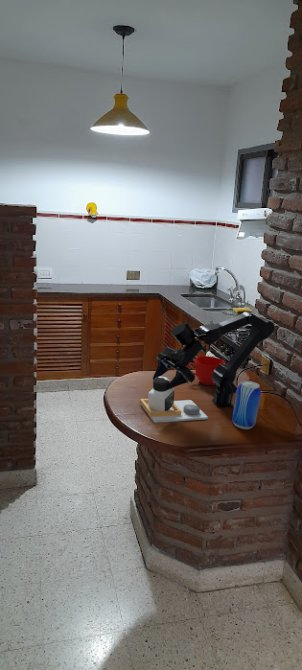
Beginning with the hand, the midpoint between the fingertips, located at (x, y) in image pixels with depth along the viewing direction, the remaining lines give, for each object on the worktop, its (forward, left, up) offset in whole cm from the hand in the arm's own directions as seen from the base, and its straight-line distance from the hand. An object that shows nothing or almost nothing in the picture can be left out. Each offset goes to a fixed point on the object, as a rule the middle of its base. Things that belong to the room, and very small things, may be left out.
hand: (160, 384), depth 179 cm
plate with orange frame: (-6, +1, -11) cm, 13 cm away
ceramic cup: (-31, -25, -11) cm, 42 cm away
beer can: (-28, +15, -11) cm, 34 cm away
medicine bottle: (-2, 0, -9) cm, 10 cm away
